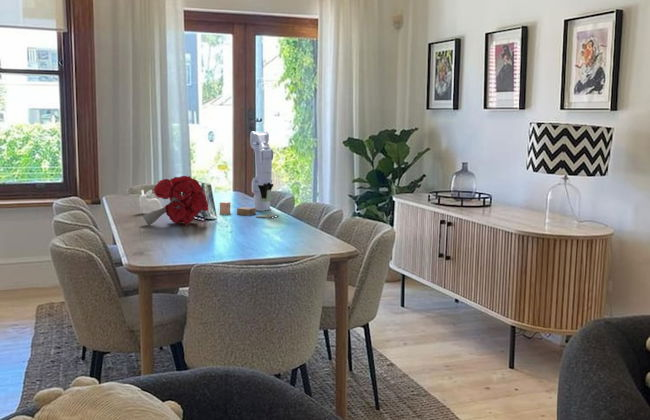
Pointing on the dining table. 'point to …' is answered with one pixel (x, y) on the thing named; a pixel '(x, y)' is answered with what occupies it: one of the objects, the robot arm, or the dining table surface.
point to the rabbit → (149, 203)
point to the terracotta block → (224, 207)
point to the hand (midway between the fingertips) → (265, 197)
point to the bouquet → (179, 200)
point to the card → (266, 216)
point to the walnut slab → (246, 211)
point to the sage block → (268, 197)
